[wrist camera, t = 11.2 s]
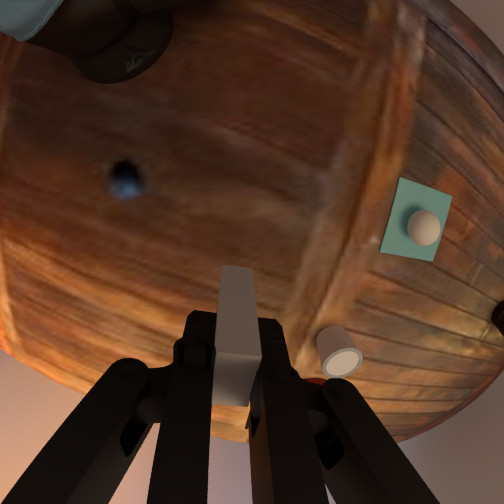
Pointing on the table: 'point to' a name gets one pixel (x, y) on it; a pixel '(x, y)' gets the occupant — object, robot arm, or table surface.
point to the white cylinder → (337, 352)
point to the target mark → (404, 205)
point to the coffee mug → (499, 317)
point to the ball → (423, 227)
